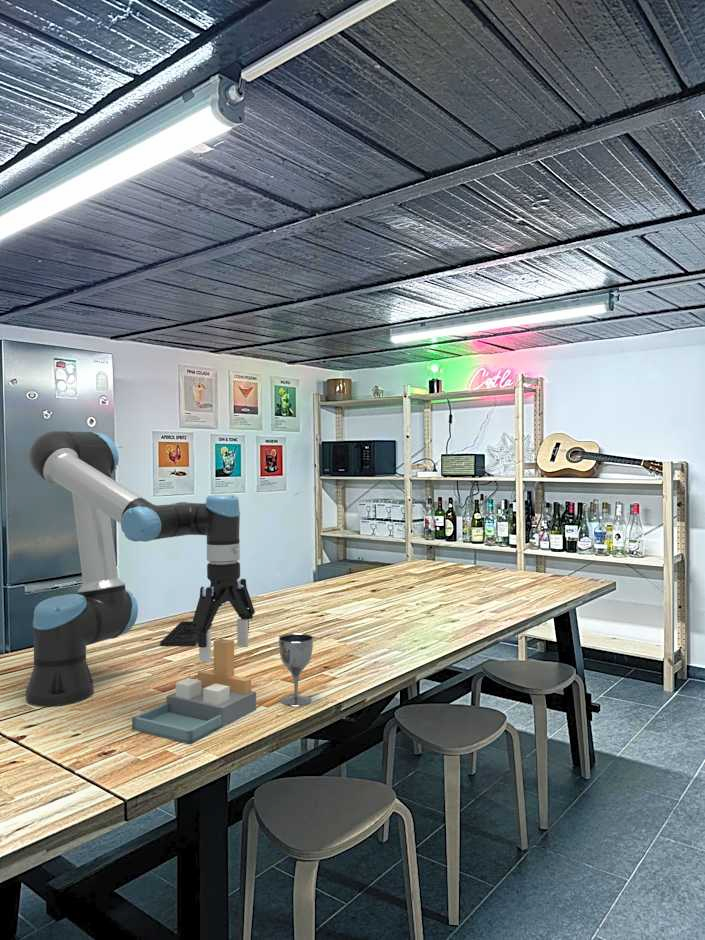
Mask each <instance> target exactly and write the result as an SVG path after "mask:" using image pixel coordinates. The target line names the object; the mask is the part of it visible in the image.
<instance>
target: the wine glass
mask: <svg viewBox="0 0 705 940" xmlns="http://www.w3.org/2000/svg"><path fill="white" fill-rule="evenodd" d="M278 639H279V640H278V649H279V656H280V659H281V662H282V664H283V665H284V666H285V668H286V669H287V670H288V671H289V672H290V674H291V675H292V680H293V687H294V694H293V695H289V696H286V697H283V698H282V699H281V700H280V703H281V704H282V705H284V706H287V707H302V706H303V707H304V706H306V705H309V704H310V703H311V702H312V699H311V697H308V696H306V695H305V696H304V695H299V693H298V692H299V691H298V690H299V689H298V688H299V680H300V676H301V674H302V672H303V671H304V670H305V668H306V667H307V666H308V665H309V663H310V662H311V658H312V655H313V649H314V641H313V640H314V638H313V636H312V635H311V634H307V633H301V632H300V633H287V634H283V635H280V636H279V637H278Z"/></svg>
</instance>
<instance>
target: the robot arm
mask: <svg viewBox="0 0 705 940" xmlns="http://www.w3.org/2000/svg"><path fill="white" fill-rule="evenodd" d="M28 453H29V454H28V459H29V460H28V461H29V464H30V466H31V468H32V470H33V472H34V473H35V474H36V475H38V476H39V478H41V479H42V480H44V481H46V482H47V483H48V484H50V485H54V486H58V485H59V486H61V487H63V488H64V489H66V490H67V491H69V492H71V494H72V495H71V496H72V504H73V512H74V518H75V519H74V520H75V528H76V535H77V536H76V537H77V544H78V552H79V553H78V555H79V560H80V568H81V577H82V585H81V586H80V587H79V589H78V590H77V593H70V594H69V593H68V594H64V595H57V596H56V595H55V596H52V597H49V598H47V599H44V600H42V601H40V602H39V603H37V605H36V606H35V608H34V611H33V620H32V626H33V668H32V671H31V675H30V679H29V681H28V686H27V687H26V690H25V700H26V702H27V703H28V704H31V705H34V706H42V707H53V706H55V707H56V706H63V705H70V704H73V703H76V702H77V703H79V702H81V701H83V700H86V699H87V698H90V697H91V696H92V695H94V692H95V682H94V679H93V676H92V674H91V671H90V668H89V666H88V661H87V646H89V645H92V644H96V643H100V642H103V641H106V640H112V639H116V638H119V636H122V635H124V634H127V633H128V632H129V631H131V630H132V628H133V626H135V624H136V621H137V619H138V615H139V614H138V612H139V608H138V600H137V599H136V597H135V596H133V593H132V592H131V591H129V590H127V589H126V582H124V581H122V580H121V579H120V578H119V575H118V569H117V568H118V566H117V561H116V552H115V544H114V537H113V528H112V520H111V519H113V520H114V521H116V522H117V523H119V524H120V526H121V530H122V533H123V534H124V537H126V539H128V540H130V541H132V542H146V543H147V542H150V541H154V540H155V541H156V540H162V539H168V538H174V537H183V536H206V561H207V562H208V563H207V565H206V577H207V579H208V580H209V581H210V585H209V586H200V588H199V599H198V600H197V605H196V609H195V610H194V611H195V612H194V616H193V619H192V625H191V631H195V632H197V633H198V643H197V647H198V652H199V654H198V656H199V657H198V660H199V661H200V662H204V663H205V662H206V663H211V662H212V633H211V632H212V631H209V630H210V628H211V627H212V626H211V623H213V621H214V619H215V617H216V614H217V612H218V610H219V608H220V607H222V606H223V604H226V603H228V602H229V603H230V605H231V607H232V608H233V609H234V611H235V613H236V614H237V616H239V618H237V619H236V627H237V628H236V633H237V635H236V637H237V639H236V641H237V645H236V646H237V647H239V648H248V647H249V630H250V620H252V619H253V617H254V615H255V613H256V611H255V608H254V607H255V606H254V604H253V602H252V600H251V596H250V593H249V591H248V588H247V587H248V585H247V580H246V578H241V563H240V562H239V560H240V559H241V557H240V556H241V553H240V550H241V548H240V546H241V545H240V542H241V541H240V520H241V519H240V517H241V512H240V502H239V501H240V500H239V498H238V496H236V495H235V494H211V495H208V496H206V498H205V499H206V500H205V501H206V502H204V503H201V502H200V503H199V502H198V503H196V502H187V501H186V502H185V501H180V502H173V503H170V504H159V505H156V504H153V503H152V502H150V501H149V500H147V499H145V498H143V497H142V496H140V495H139V494H137V493H135V492H134V491H132V490H130V489H128V487H125V485H123V484H121V483H119V482H118V481H116V480H114V479H113V478H112V474H114V473H115V472H116V470H117V466H118V465H119V460H120V458H119V451H118V449H117V446H116V444H115V442H114V441H113V440H112V439H111V438H110V437H109V436H108V435H106V434H103V433H100V432H94V431H63V430H53V431H48V432H44V433H43V434H42V435H40V436H38V437H37V438H36V439H35V440H34V441H33V442H32V444H31V446H30V449H29V452H28ZM197 625H198V626H197ZM203 626H204V627H203ZM210 626H211V627H210Z"/></svg>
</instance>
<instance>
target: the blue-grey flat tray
mask: <svg viewBox="0 0 705 940" xmlns="http://www.w3.org/2000/svg"><path fill="white" fill-rule="evenodd" d="M221 728H223V727H222V715H218V716H216V717H214V718H212V719H210V720H208V721H205V720H201V719H197V718H192V717H188V716H184V715H179V714H175V713H171V712H169V707H168V703H166V702H165V703H162V704H161V705H160V704H159V705H158V706H155V707H154V708H151V709H149V710H146V711H145V712H144V711H143V712H141V713H140V714H137V715H134V716H132V717H131V729H132V730H133V731H137V732H141V733H145V734H149V735H153V736H156V737H161V738H165V739H169V740H174V741H176V742H180V743H185V744H188V745H191V744H193V743H195V742H197V741H199V740H201V739H203V738H205V737H207V736H209V735H210V734H212V733H214V732H216V731H218V730H220V729H221Z"/></svg>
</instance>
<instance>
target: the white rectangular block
mask: <svg viewBox="0 0 705 940" xmlns="http://www.w3.org/2000/svg"><path fill="white" fill-rule="evenodd" d="M228 700H230V686H226V685H221V684H213V685H211V686H208V687H206V688H204V689H203V702H204V703H209V704H213V705H220V704H222V703H224V702H226V701H228Z"/></svg>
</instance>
